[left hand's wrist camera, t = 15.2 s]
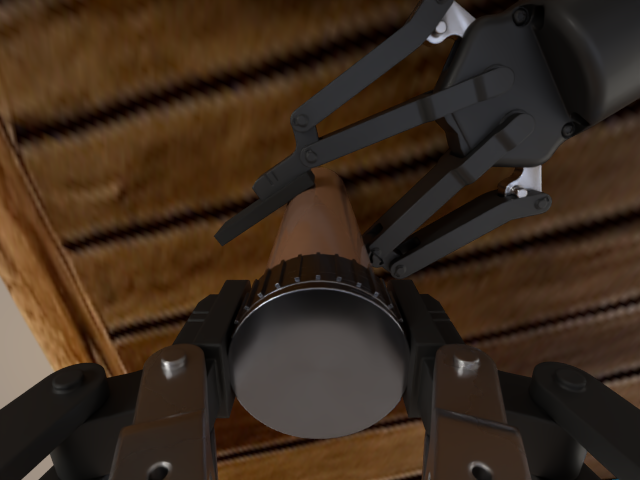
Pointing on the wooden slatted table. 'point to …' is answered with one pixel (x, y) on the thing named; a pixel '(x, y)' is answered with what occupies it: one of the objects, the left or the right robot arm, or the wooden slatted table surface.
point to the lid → (319, 348)
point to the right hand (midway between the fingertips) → (249, 263)
